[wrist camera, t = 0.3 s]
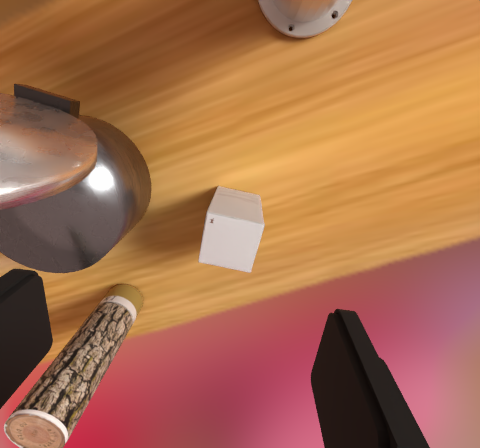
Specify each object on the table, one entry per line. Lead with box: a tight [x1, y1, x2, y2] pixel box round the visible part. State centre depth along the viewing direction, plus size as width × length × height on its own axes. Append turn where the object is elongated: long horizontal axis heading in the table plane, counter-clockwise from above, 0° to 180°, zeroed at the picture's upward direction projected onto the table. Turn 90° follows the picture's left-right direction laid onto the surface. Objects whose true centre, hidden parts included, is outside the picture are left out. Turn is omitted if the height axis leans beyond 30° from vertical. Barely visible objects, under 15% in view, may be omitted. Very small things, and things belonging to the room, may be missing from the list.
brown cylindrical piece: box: [4, 284, 143, 448], centre depth 43 cm, size 7×7×25 cm
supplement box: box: [198, 186, 265, 273], centre depth 41 cm, size 7×7×13 cm
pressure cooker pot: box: [0, 84, 151, 273], centre depth 40 cm, size 23×30×12 cm
